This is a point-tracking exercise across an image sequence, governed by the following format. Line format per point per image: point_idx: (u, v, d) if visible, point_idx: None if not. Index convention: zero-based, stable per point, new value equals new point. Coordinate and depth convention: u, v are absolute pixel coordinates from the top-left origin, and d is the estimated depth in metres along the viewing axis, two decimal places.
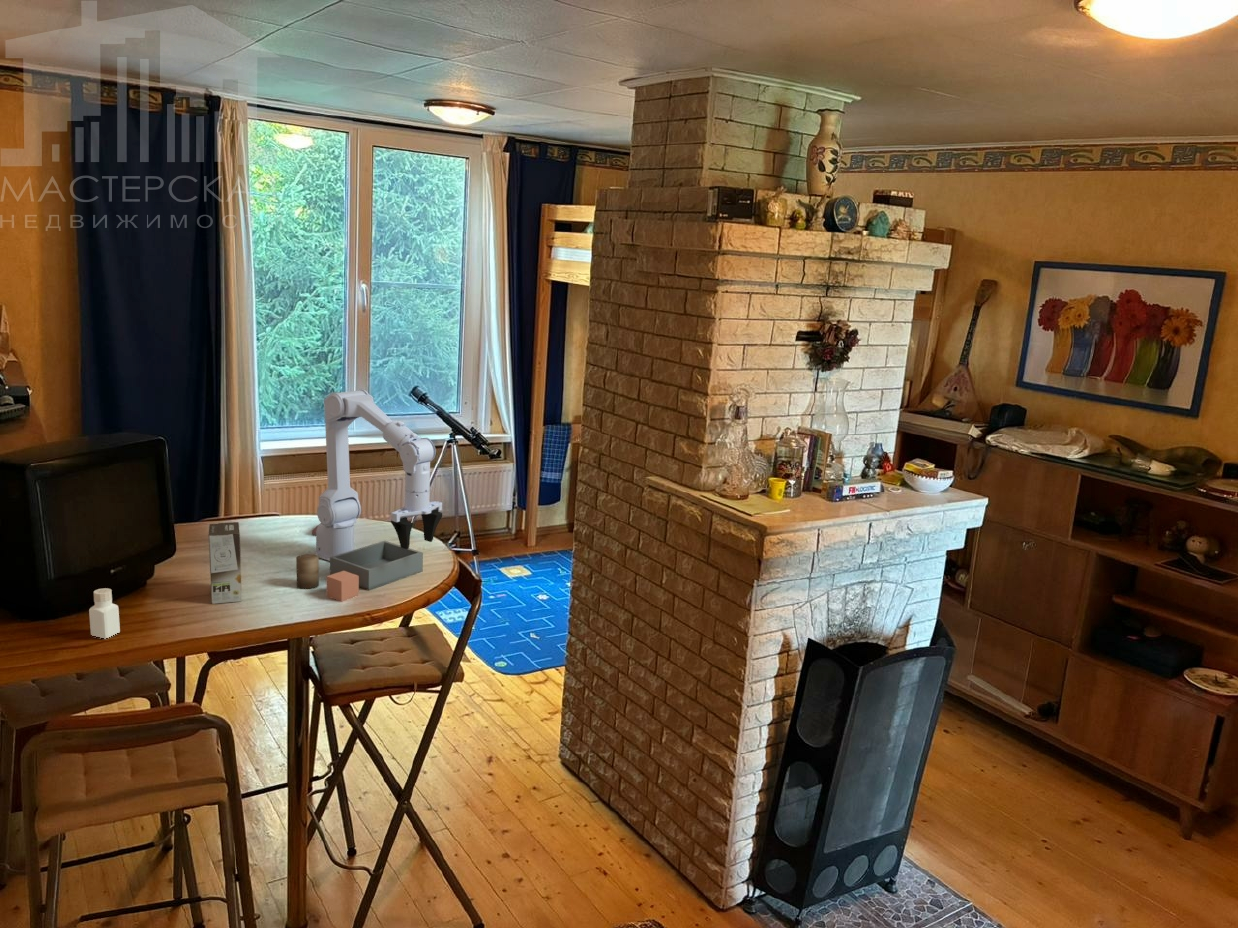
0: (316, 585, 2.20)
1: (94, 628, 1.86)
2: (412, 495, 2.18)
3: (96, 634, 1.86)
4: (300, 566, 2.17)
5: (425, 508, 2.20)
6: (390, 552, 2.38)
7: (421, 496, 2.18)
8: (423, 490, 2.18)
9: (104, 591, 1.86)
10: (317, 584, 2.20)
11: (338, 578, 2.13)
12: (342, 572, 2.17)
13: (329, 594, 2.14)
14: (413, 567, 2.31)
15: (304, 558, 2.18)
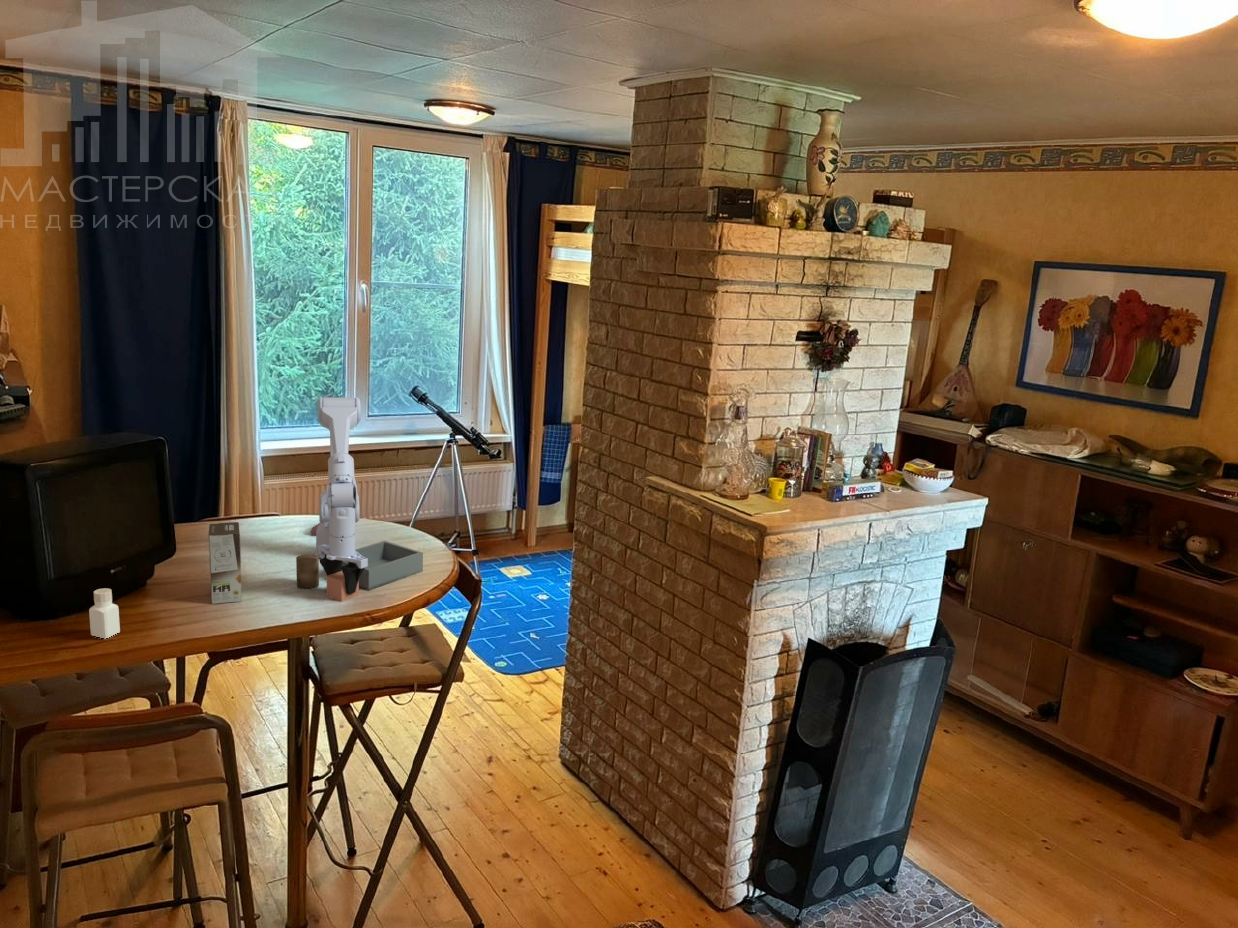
0: (316, 585, 2.20)
1: (94, 628, 1.86)
2: None
3: (96, 634, 1.86)
4: (300, 566, 2.17)
5: (332, 553, 2.11)
6: (390, 552, 2.38)
7: (329, 539, 2.11)
8: (339, 535, 2.09)
9: (104, 591, 1.86)
10: (317, 584, 2.20)
11: (338, 578, 2.13)
12: (342, 572, 2.17)
13: (329, 594, 2.14)
14: (413, 567, 2.31)
15: (304, 558, 2.18)
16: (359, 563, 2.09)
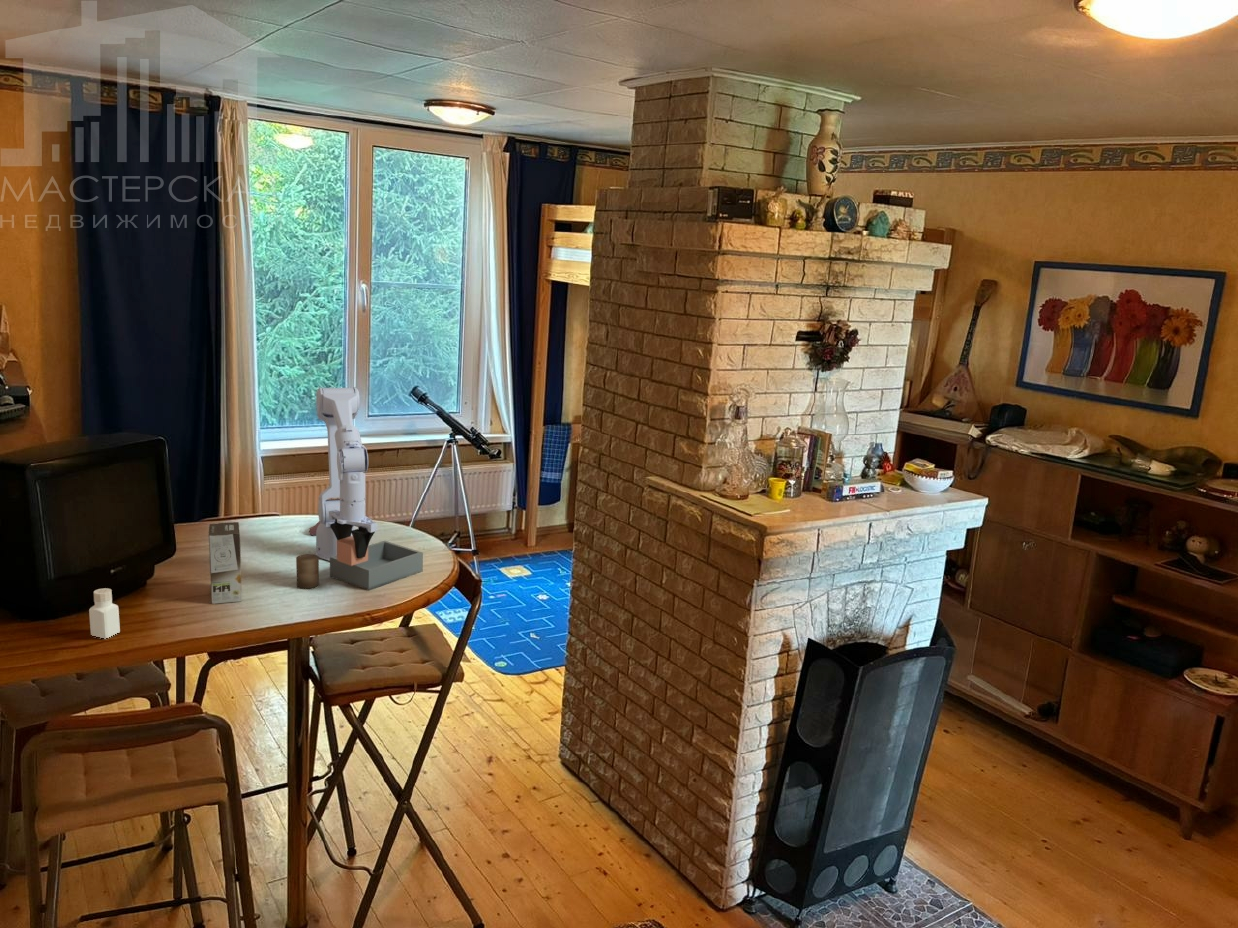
0: (316, 585, 2.20)
1: (94, 628, 1.86)
2: None
3: (96, 634, 1.86)
4: (300, 566, 2.17)
5: (342, 518, 2.14)
6: (390, 552, 2.38)
7: (340, 503, 2.14)
8: (351, 500, 2.13)
9: (104, 591, 1.86)
10: (317, 584, 2.20)
11: (348, 542, 2.16)
12: (352, 537, 2.20)
13: (339, 558, 2.18)
14: (413, 567, 2.31)
15: (304, 558, 2.18)
16: (369, 527, 2.13)
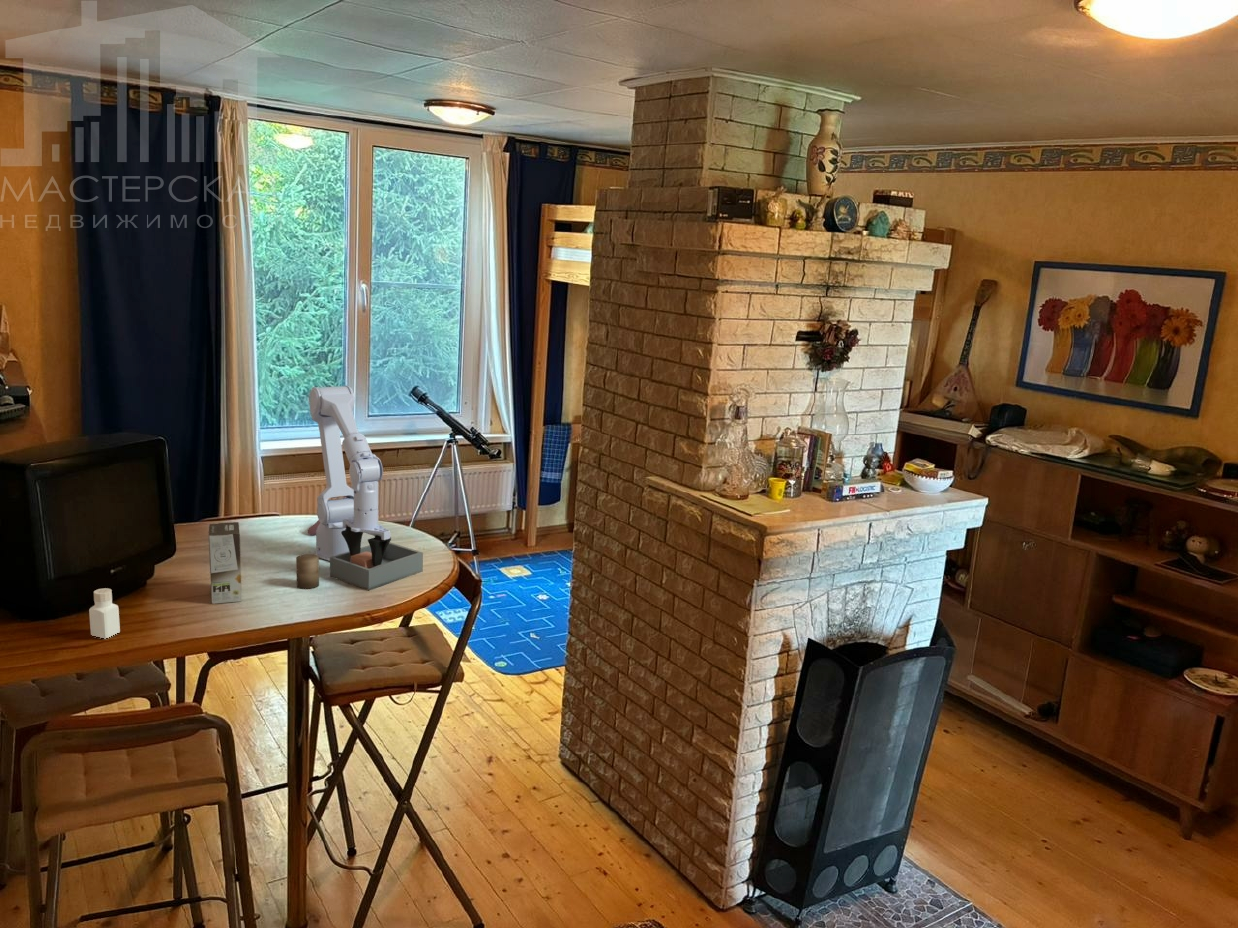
0: (316, 585, 2.20)
1: (94, 628, 1.86)
2: None
3: (96, 634, 1.86)
4: (300, 566, 2.17)
5: (356, 526, 2.22)
6: (390, 552, 2.38)
7: (354, 512, 2.22)
8: (367, 509, 2.21)
9: (104, 591, 1.86)
10: (317, 584, 2.20)
11: (361, 558, 2.25)
12: (365, 552, 2.28)
13: None
14: (413, 567, 2.31)
15: (304, 558, 2.18)
16: (382, 535, 2.20)
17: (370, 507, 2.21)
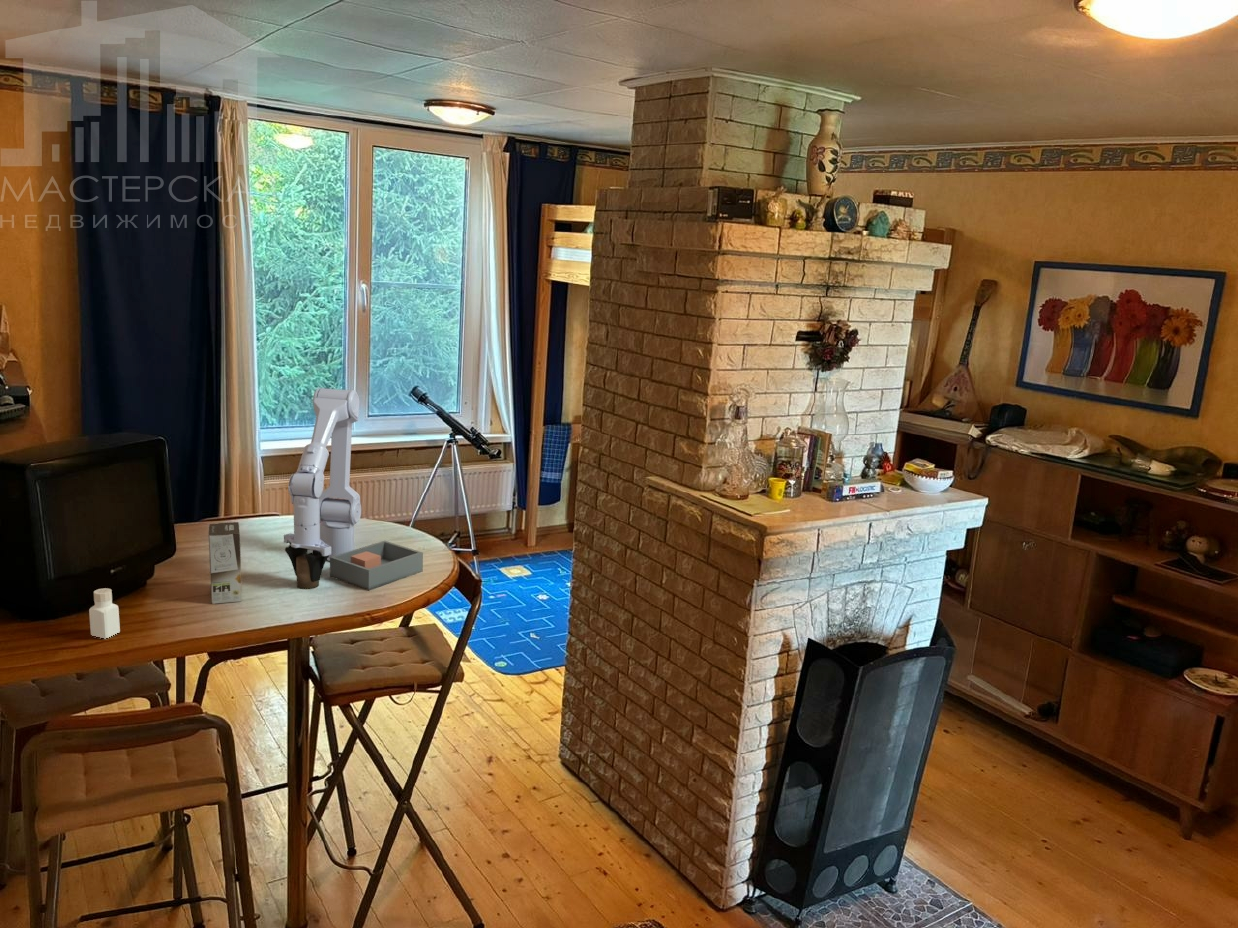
0: (316, 585, 2.20)
1: (94, 628, 1.86)
2: None
3: (96, 634, 1.86)
4: (300, 566, 2.17)
5: (296, 541, 2.16)
6: (390, 552, 2.38)
7: (294, 527, 2.16)
8: (298, 523, 2.14)
9: (104, 591, 1.86)
10: (317, 584, 2.20)
11: (361, 558, 2.25)
12: (365, 552, 2.28)
13: None
14: (413, 567, 2.31)
15: (304, 558, 2.18)
16: (323, 551, 2.14)
17: (301, 522, 2.14)
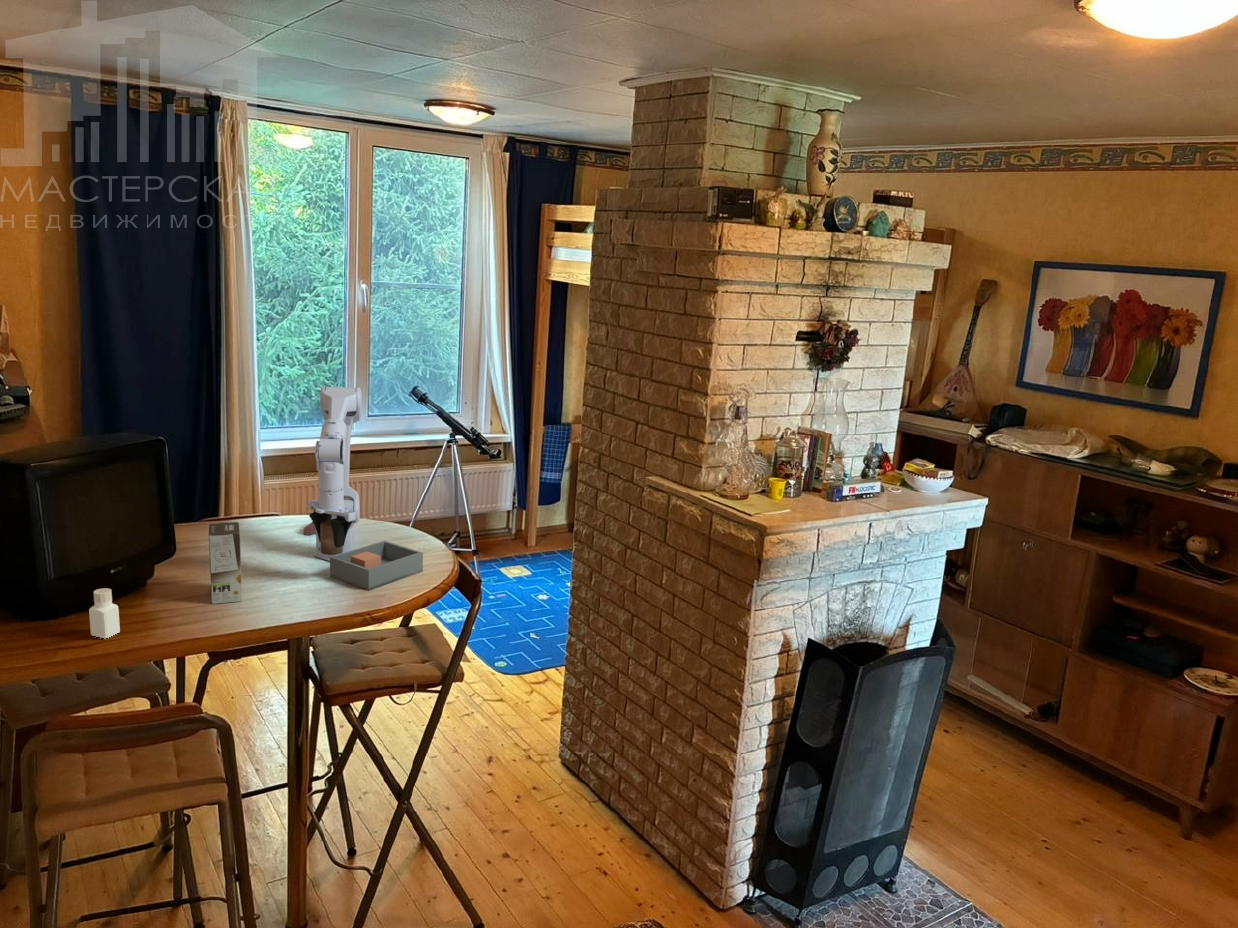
0: (340, 551, 2.22)
1: (94, 628, 1.86)
2: None
3: (96, 634, 1.86)
4: (324, 532, 2.19)
5: (321, 507, 2.18)
6: (390, 552, 2.38)
7: (318, 493, 2.18)
8: (326, 489, 2.16)
9: (104, 591, 1.86)
10: (341, 550, 2.22)
11: (361, 558, 2.25)
12: (365, 552, 2.28)
13: None
14: (413, 567, 2.31)
15: (328, 524, 2.20)
16: (347, 516, 2.16)
17: (329, 488, 2.16)
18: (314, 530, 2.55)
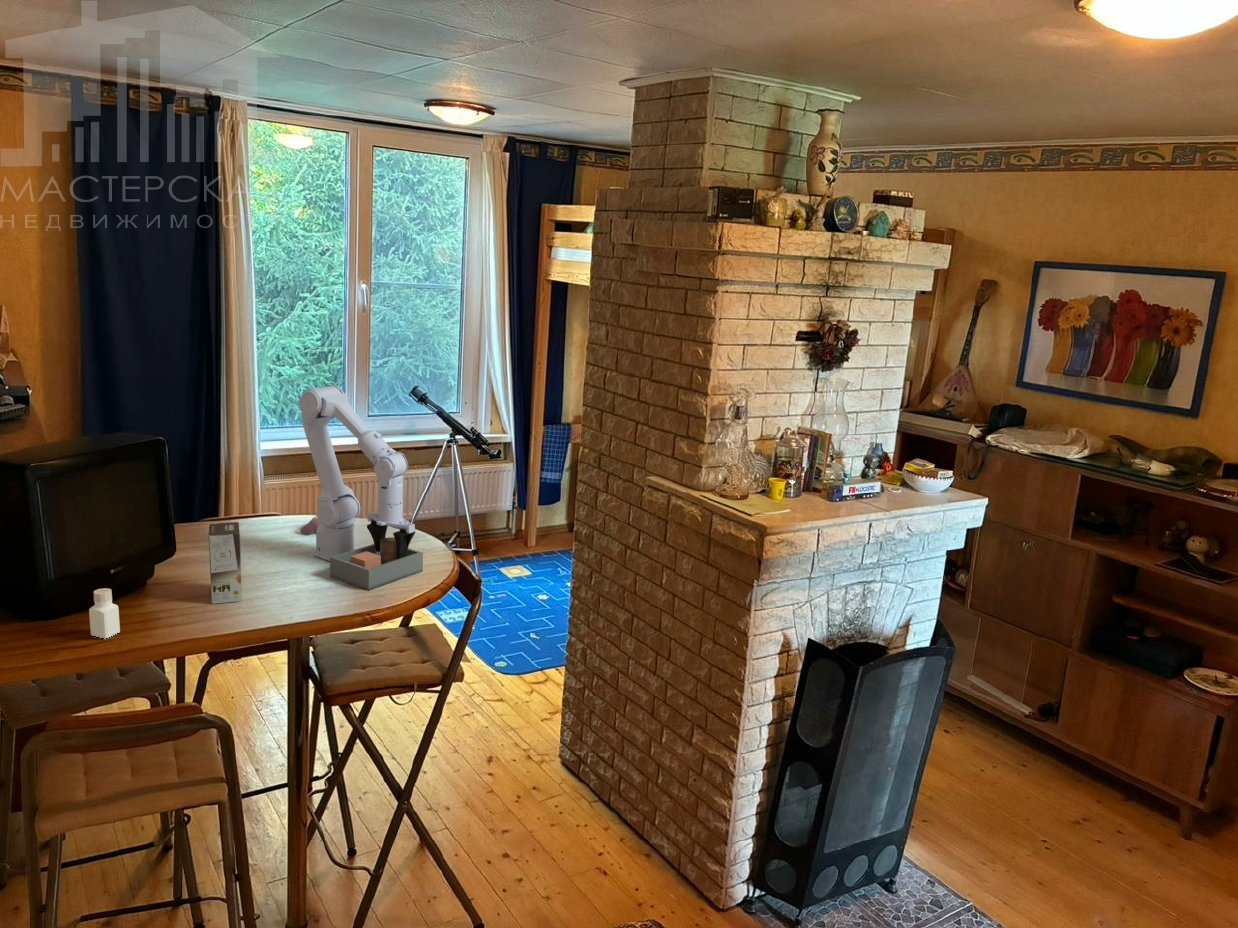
0: None
1: (94, 628, 1.86)
2: None
3: (96, 634, 1.86)
4: (384, 549, 2.30)
5: (382, 519, 2.29)
6: None
7: (379, 506, 2.29)
8: (398, 502, 2.28)
9: (104, 591, 1.86)
10: None
11: (361, 558, 2.25)
12: (365, 552, 2.28)
13: None
14: (413, 567, 2.31)
15: (387, 541, 2.32)
16: (407, 528, 2.27)
17: (400, 500, 2.29)
18: (312, 530, 2.55)
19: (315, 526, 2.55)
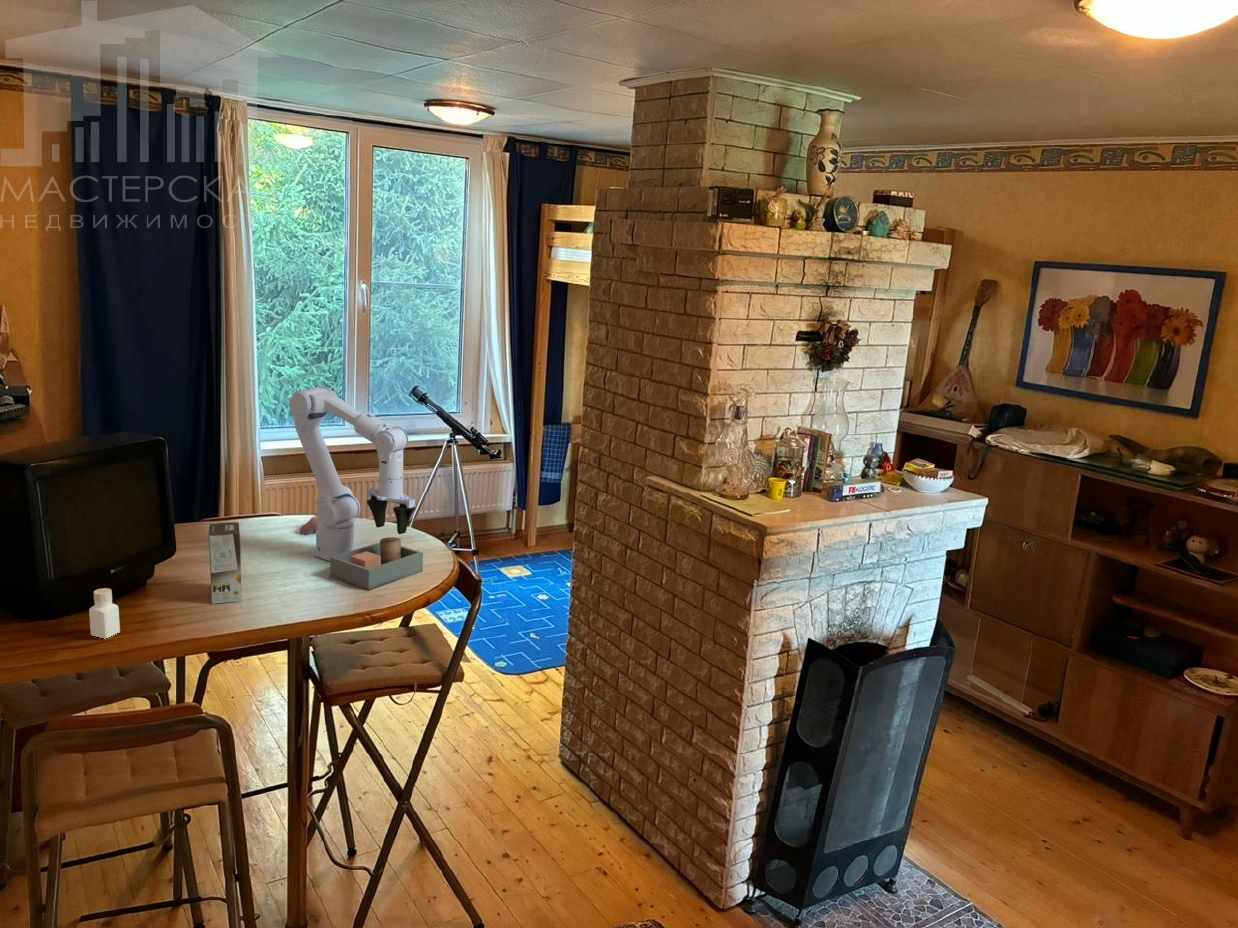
0: None
1: (94, 628, 1.86)
2: None
3: (96, 634, 1.86)
4: (384, 548, 2.31)
5: (382, 494, 2.27)
6: None
7: (379, 481, 2.27)
8: (398, 477, 2.27)
9: (104, 591, 1.86)
10: None
11: (361, 558, 2.25)
12: (365, 552, 2.28)
13: None
14: (413, 567, 2.31)
15: (387, 541, 2.32)
16: (407, 503, 2.25)
17: (400, 475, 2.27)
18: (310, 530, 2.55)
19: (314, 526, 2.55)
